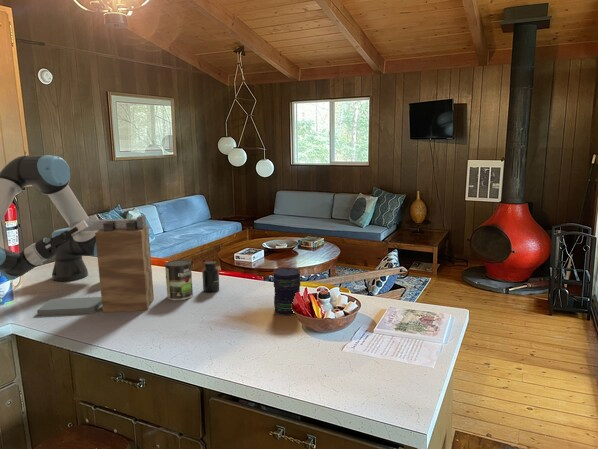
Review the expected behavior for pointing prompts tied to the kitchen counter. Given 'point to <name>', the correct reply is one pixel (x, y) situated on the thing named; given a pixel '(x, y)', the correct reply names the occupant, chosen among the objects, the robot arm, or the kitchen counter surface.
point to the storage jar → (285, 289)
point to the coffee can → (179, 279)
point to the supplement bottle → (210, 277)
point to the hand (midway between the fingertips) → (91, 220)
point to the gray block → (70, 306)
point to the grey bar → (117, 223)
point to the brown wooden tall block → (124, 268)
